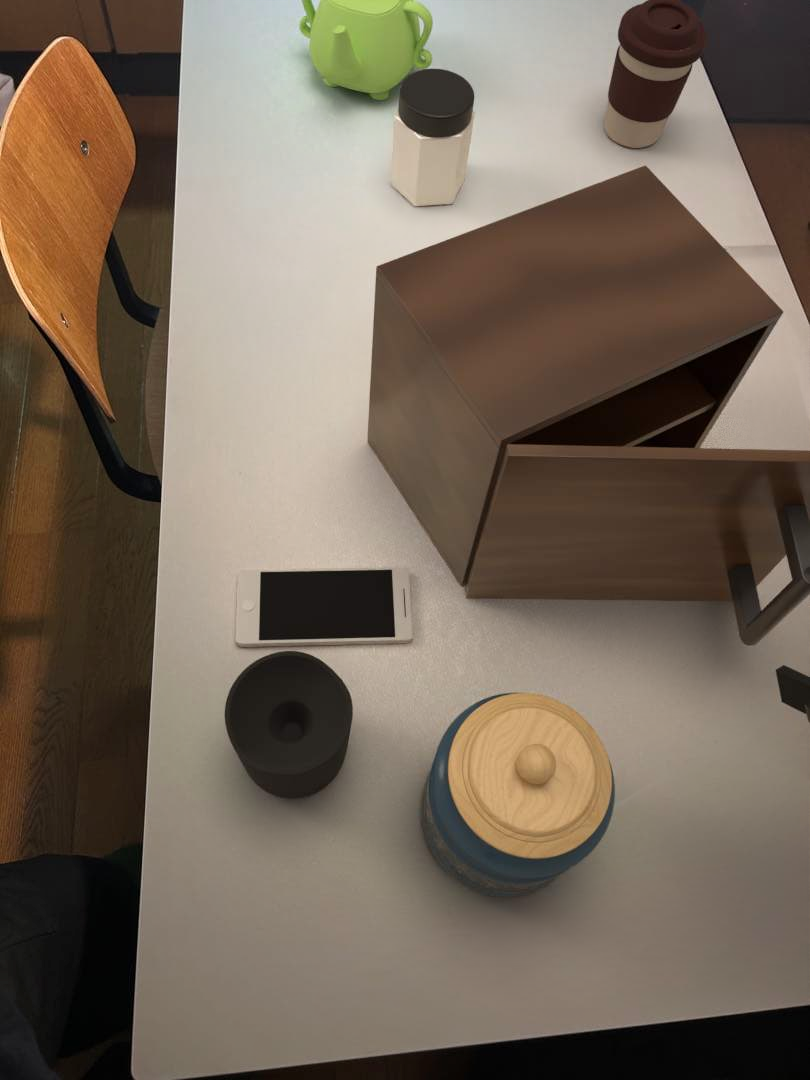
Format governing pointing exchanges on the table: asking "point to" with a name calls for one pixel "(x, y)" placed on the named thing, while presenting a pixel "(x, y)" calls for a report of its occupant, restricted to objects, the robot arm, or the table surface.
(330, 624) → the smartphone
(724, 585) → the cupboard door
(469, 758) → the canister
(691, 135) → the table surface
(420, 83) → the jar
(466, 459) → the cupboard
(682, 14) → the coffee cup
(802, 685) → the robot arm
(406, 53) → the teapot
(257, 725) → the pen holder
